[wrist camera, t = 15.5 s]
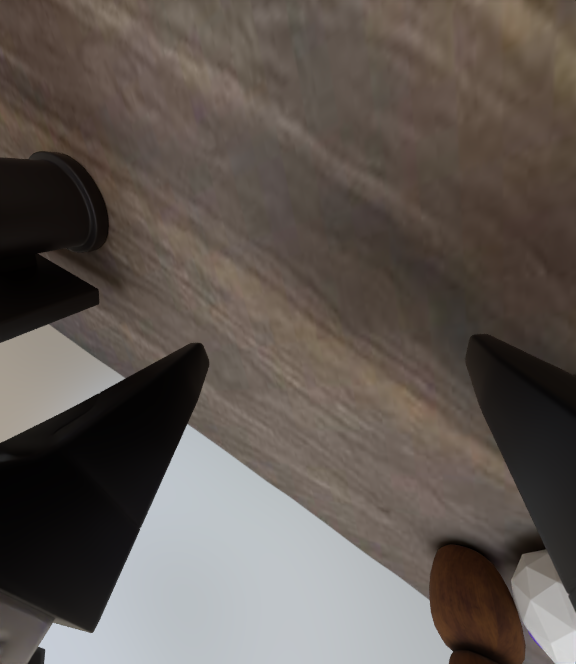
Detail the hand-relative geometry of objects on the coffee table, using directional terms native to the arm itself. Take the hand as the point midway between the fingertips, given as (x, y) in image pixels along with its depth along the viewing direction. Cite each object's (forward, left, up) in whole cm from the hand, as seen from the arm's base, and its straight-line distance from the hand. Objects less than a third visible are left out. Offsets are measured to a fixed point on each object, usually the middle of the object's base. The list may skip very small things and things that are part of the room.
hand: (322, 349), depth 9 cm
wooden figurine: (-13, +29, -12) cm, 34 cm away
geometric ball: (-15, +27, -8) cm, 32 cm away
